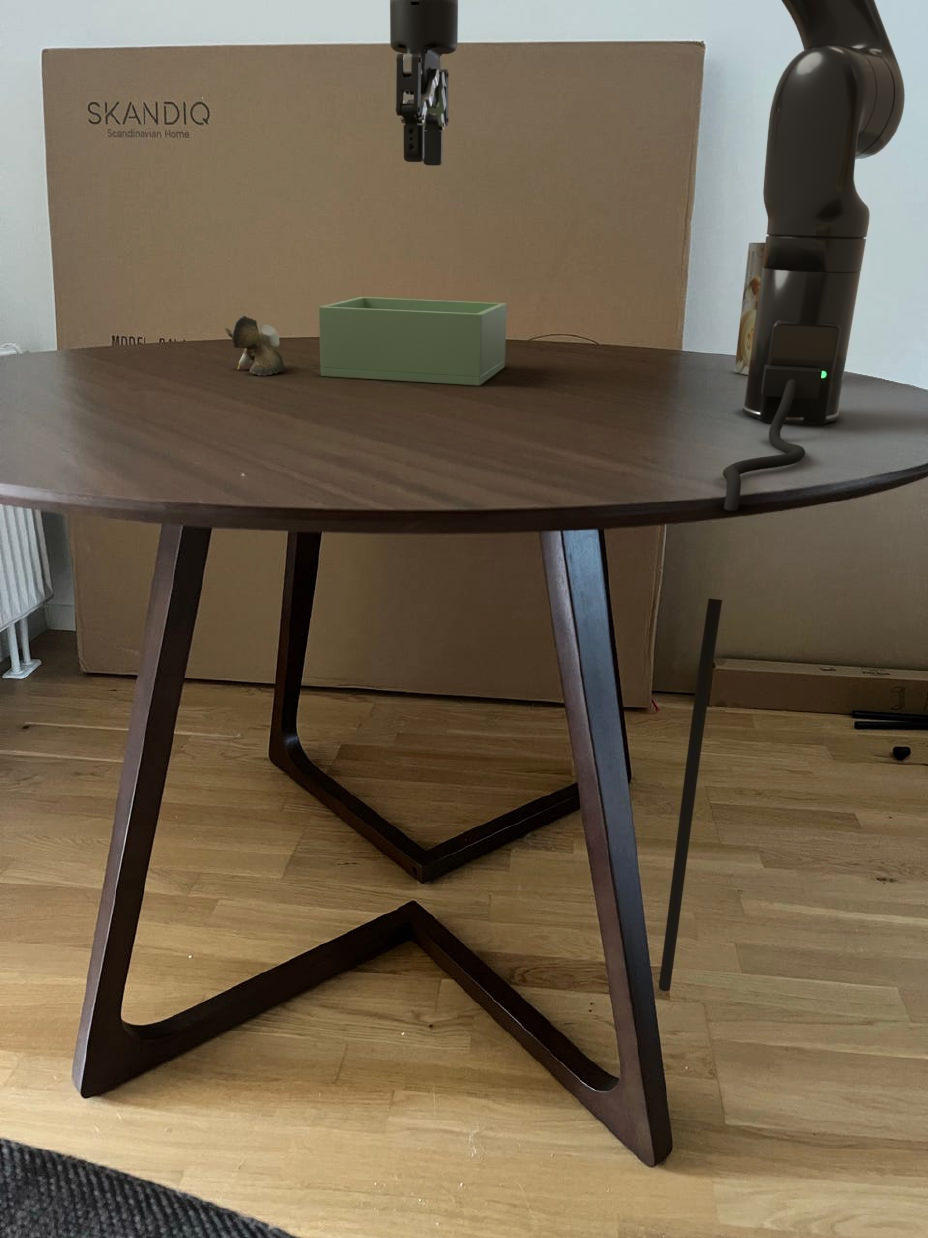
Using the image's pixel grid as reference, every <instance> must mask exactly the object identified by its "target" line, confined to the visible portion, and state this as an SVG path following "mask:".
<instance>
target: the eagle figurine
mask: <svg viewBox="0 0 928 1238" xmlns="http://www.w3.org/2000/svg"><path fill="white" fill-rule="evenodd" d="M224 330H225V333H227V335H228V337H229V338H231V340H232V343H233V348H235V349H240V348H241V349H244V350H243V352H242V356H241V357H240V359H239V361H238V367H237V368H236V369H237V371H240V369H242V368H244V367H245V366H246V365H247V364H248V363H249V362H250V361H252V365H251V367H250V369H249V373H251V374H253V375H258V376H264V377H265V376H268V375H269V376H271V375H274V374H278V373H280V372H282V371H283V370H284V366H285V365H284V360H283V356H282V355H281V354H280V353H279V352H278V351H277V350H275V348H278V347H279V346H280V343H281V342H280V336H279V333H278V331H277V329H276V328H274V327H273V326H271V325H269V324H267V323H263V324H262V325H261V330H260V332H259V328H258V322H257V320H256V319H253V318H250V317H247V316H246V315H242V316H241V317H239V319H237V321H235V325H234V328H233V331H232V330H230V329H229V328H228V327H224Z"/></svg>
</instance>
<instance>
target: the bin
mask: <svg viewBox="0 0 928 1238" xmlns="http://www.w3.org/2000/svg"><path fill="white" fill-rule="evenodd" d="M507 316H508V303H507V302H486V301H484V302H483V301H482V302H481V301H465V300H464V301H462V300H441V299H419V298H418V299H417V298H416V299H415V298H397V297H393V298H392V297H371V296H360V297H355V298H350V299H346V300H341V301H337V302H333V303H330V304H325V305H320V306H318V324H319V325H318V327H319V328H318V331H319V358H320V359H319V360H320V361H319V362H320V376H321V377H330V378H331V377H332V378H345V379H346V378H347V379H362V380H363V379H364V380H377V381H378V380H379V381H395V382H410V383H411V382H412V383H429V384H446V385H460V386H464V385H465V386H475V387H476V386H477V387H479V386H481V385H483V384H484V383H485V382H487V381H488V380H489V379H491V378H492V377H493V376H495V375H496V374H498V372H500V371H502V370H503V369H504V368H505V367H506V344H507Z"/></svg>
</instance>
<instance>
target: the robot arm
mask: <svg viewBox="0 0 928 1238" xmlns="http://www.w3.org/2000/svg"><path fill="white" fill-rule="evenodd" d="M780 1H781V2H782V4H783V6H784V7H785V9H786V10H787V12H788V13H789V15H790V17H791V19H792V21H793V23H794V25H795V27H796V30H797V32H798V35H799V38H800V41H801V44H802V48H803V50H802V51H801V52H799V53H798V54H796V55H795V56H794V58H793V59H792V60H791V61H790V62H789V63H788V65H787V66H786V67H785V69H784V70H783V72H782V73H781V76H780V78H779V80H778V82H777V84H776V88H775V91H774V93H773V97H772V101H771V105H770V112H769V118H768V127H767V137H766V149H765V164H764V175H763V186H762V187H763V189H762V196H763V204H764V208H765V212H766V216H767V226H766V236H765V242H764V243H765V249H764V257H763V265H762V271H761V279H760V286H759V294H758V302H757V310H756V317H755V325H754V333H753V340H752V348H751V356H750V364H749V371H748V375H747V381H746V388H745V396H744V403H743V405H742V413H743V414H744V415H747V416H749V417H752V418H755V419H758V420H759V421H760V422H769V423H770V422H771V424H770V427H769V431H768V440H769V443H770V445H771V446H772V447H773V448H775V449H776V450H778V451H780V452H783V453H782V454H775V455H769V456H760V457H754V458H748V459H743V460H740V461H739V460H738V461H736V462H734V463H732V464H730V465H728V466H726V467H725V468H724V469H723V470H722V476H723V477H724V479H725V480H726V491H725V497H724V498H725V499H724V503H723V504H724V505H723V509H724V510H726V511H737V510H739V505H740V500H741V499H740V498H741V491H742V479H741V475H742V474H745V473H748V472H753V471H761V470H767V469H775V468H781V467H787V466H791V465H795V464H797V463H800V462H801V461H802V460H803V459H804V458H805V455H806V450H805V448H804V447H803V446H801V445H799V444H795V443H790V442H787V441H785V440H783V439H782V437H781V432H782V428H783V425H784V423H786V424H787V423H788V424H802V425H816V426H817V425H818V426H825V425H826V424H827V423H830V422H831V423H832V422H835V421H837V420H838V417H839V406H840V399H841V394H842V388H843V382H844V375H845V368H846V362H847V357H848V351H849V344H850V338H851V332H852V326H853V319H854V314H855V307H856V302H857V296H858V291H859V285H860V284H859V283H860V279H861V272H862V266H863V260H864V255H865V249H866V242H867V239H866V238H867V236H868V232H869V227H870V226H869V225H870V217H871V213H870V212H871V211H870V208H869V206H868V205H867V203H866V202H865V201H864V200H863V199H862V198H861V196H860V194H859V192H858V190H857V186H856V183H855V167H856V161H859V160H865V159H868V158H872V157H873V156H875V155H877V154H878V153H879V152H881V151H882V150H883V149H885V148H886V147H887V145H888V144H889V143H890V142H891V141H892V139H893V138H894V136H895V134H896V133H897V131H898V128H899V126H900V123H901V122H902V117H903V115H904V109H905V100H906V98H905V96H906V94H905V84H904V79H903V75H902V71H901V69H900V65H899V63H898V59H897V56H896V54H895V52H894V49H893V47H892V44H891V41H890V39H889V36H888V34H887V31H886V29H885V25H884V23H883V20H882V17H881V15H880V12H879V9H878V6H877V3H876V1H875V0H780ZM458 32H459V0H389V39H390V40H389V44H390V47H391V50H393V51H394V52H397V54H396V58H395V63H396V75H395V77H396V79H395V80H396V81H395V83H396V85H395V87H396V88H395V89H396V92H395V93H396V94H395V95H396V96H395V97H396V98H395V113H396V115H397V116H398V117H400V122H401V124H403V160H404V161H405V162H407V163H423V164H424V165H425V166H432V167H433V166H434V167H435V166H437V167H438V166H441V165H442V164H443V142H444V141H443V138H444V137H443V131H445V128H446V127H447V126H449V123H450V118H449V77H450V73H449V69H447V68H446V69H445V68H444V69H443V68H442V67H441V60H440V59H441V57H442V55H450V54H452V53H455V51H457V49H458V44H459V43H458V40H459V39H458V38H459V37H458V35H459V34H458ZM722 604H723V599H717V598H708V600H707V607H706V613H705V621H704V626H703V627H704V628H703V634H702V641H701V647H700V655H699V663H698V670H697V677H696V686H695V690H694V691H695V692H694V700H693V707H692V714H691V715H692V716H691V721H690V722H691V723H690V730H689V740H688V746H687V753H686V762H685V771H684V778H683V786H682V787H683V788H682V795H681V803H680V804H681V805H680V810H679V820H678V827H677V836H676V845H675V851H674V852H675V853H674V861H673V869H672V876H671V884H670V885H671V886H670V892H669V893H670V894H669V901H668V910H667V916H666V926H665V932H664V933H665V934H664V942H663V949H662V956H661V957H662V958H661V964H660V965H661V966H660V974H659V980H658V989H659V990H660V991H662V992H669V991H670V990H671V985H672V979H673V970H674V963H675V956H676V947H677V940H678V931H679V924H680V919H681V908H682V901H683V895H684V894H683V893H684V886H685V879H686V871H687V863H688V856H689V855H688V854H689V846H690V840H691V832H692V823H693V816H694V807H695V799H696V792H697V783H698V776H699V769H700V762H701V761H700V760H701V752H702V748H703V747H702V746H703V739H704V730H705V723H706V716H707V710H708V709H707V708H708V702H709V701H708V700H709V694H710V686H711V680H712V673H713V666H714V659H715V658H714V657H715V652H716V645H717V638H718V631H719V623H720V617H721V611H722Z"/></svg>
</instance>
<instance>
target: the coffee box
mask: <svg viewBox="0 0 928 1238" xmlns="http://www.w3.org/2000/svg"><path fill="white" fill-rule="evenodd" d="M764 249H765V242H748V249H747V258H746V266H745V275H744V283H743V293H742V301H741V311H740V319H739V329H738V336H737V337H738V338H737V345H736V353H735V360H734V361H735V363H734V370H733V371H734V373H735V374H739V375H740V374H741V375H745V376H748V371H749V364H750V356H751V348H752V340H753V333H754V325H755V317H756V310H757V302H758V294H759V286H760V279H761V271H762V265H763V257H764Z"/></svg>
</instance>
